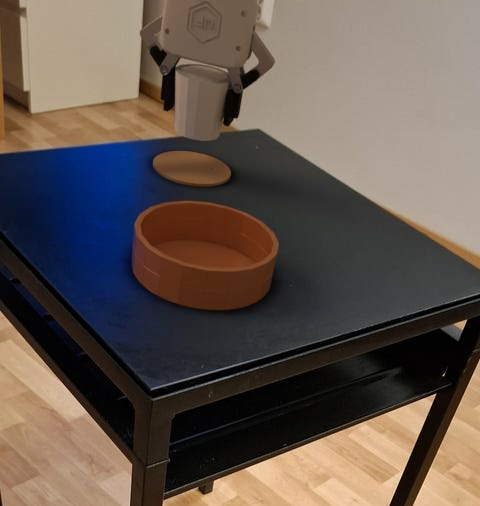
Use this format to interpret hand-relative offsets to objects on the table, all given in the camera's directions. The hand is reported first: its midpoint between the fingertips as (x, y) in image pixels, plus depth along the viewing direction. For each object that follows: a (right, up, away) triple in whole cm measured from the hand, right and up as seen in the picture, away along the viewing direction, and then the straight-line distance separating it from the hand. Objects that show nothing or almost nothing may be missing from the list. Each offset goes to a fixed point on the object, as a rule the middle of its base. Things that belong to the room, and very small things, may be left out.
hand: (199, 114), depth 90 cm
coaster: (-1, -5, +5) cm, 7 cm away
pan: (+1, -22, -14) cm, 26 cm away
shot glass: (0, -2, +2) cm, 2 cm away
